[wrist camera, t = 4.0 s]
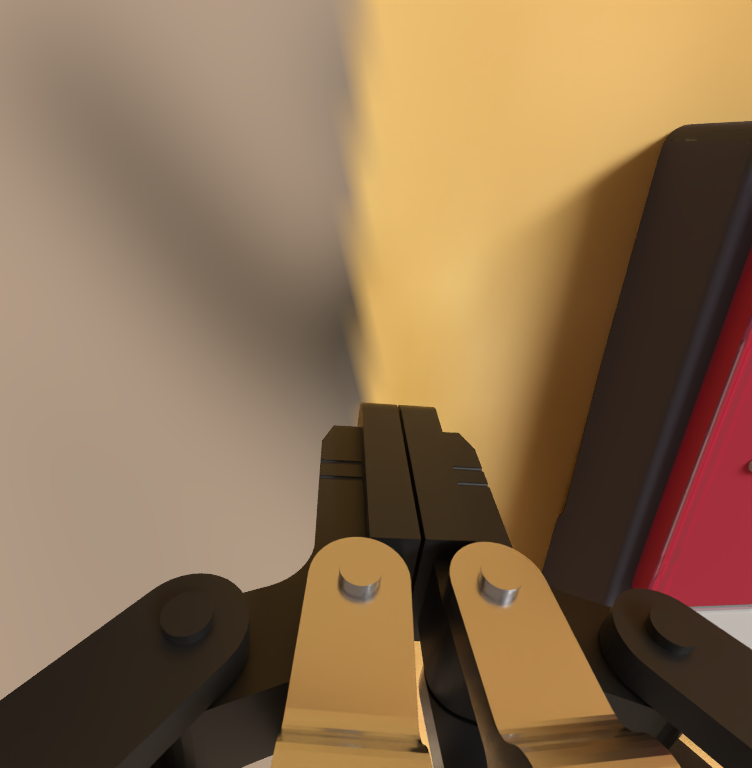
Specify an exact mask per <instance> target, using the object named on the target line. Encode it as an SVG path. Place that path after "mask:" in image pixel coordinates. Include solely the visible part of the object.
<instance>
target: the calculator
mask: <svg viewBox="0 0 752 768" xmlns="http://www.w3.org/2000/svg"><path fill="white" fill-rule="evenodd" d="M542 574H543V576H544V577H545V579H546V581H547V583H548V585H549V586H551V587H553V588H555V589H557V590H559V591H562V592H564V593H567V594H570V595H573V596H576V597H580V598H583V599H586V600H589V601H592V602H596V603H599V604H602V605H605V606H609V607H612V605H613V603H614V601H615V600H616V598H617V596H619V595H620V594H621V593H622V592H624V591H626V590H630V589H634V588H643V589H651V590H654V591H658V592H661V593H664V594H666V595H669V596H671V597H673V598H675V599H677V600H679V601H680V602H682V603H684V604H685V605H687V606H688V607H690V608H691V609H693V610H694V611H696V612H697V613H699V614H700V615H702V616H703V617H705V618H706V619H708V620H709V621H711V622H712V623H714V624H715V625H716V626H718V627H719V628H721V629H722V630H724V631H725V632H727V633H728V634H730V635H731V636H733V637H734V638H736V639H737V640H739V641H740V642H741V643H743V644H744V645H746V646H747V647H749V648H750V649H752V121H744V122H726V123H707V124H691V125H684V126H682V127H679V128H677V129H676V130H675V131H673V132H672V133H671V134H670V135H669V136H668V138H667V139H666V141H665V142H664V144H663V146H662V149H661V152H660V155H659V158H658V162H657V165H656V169H655V172H654V176H653V179H652V183H651V186H650V190H649V194H648V197H647V201H646V204H645V208H644V211H643V215H642V219H641V222H640V226H639V229H638V233H637V236H636V240H635V244H634V247H633V251H632V254H631V258H630V261H629V265H628V268H627V272H626V276H625V279H624V283H623V286H622V290H621V294H620V297H619V301H618V304H617V308H616V311H615V315H614V319H613V322H612V326H611V329H610V333H609V337H608V340H607V344H606V348H605V351H604V355H603V358H602V362H601V366H600V370H599V374H598V378H597V382H596V386H595V390H594V394H593V398H592V402H591V406H590V410H589V414H588V418H587V422H586V426H585V430H584V434H583V439H582V443H581V447H580V451H579V455H578V459H577V463H576V467H575V471H574V475H573V479H572V483H571V487H570V491H569V495H568V499H567V503H566V507H565V511H564V512H563V513H562V514H561V515H560V516H559V517H558V519H557V522H556V525H555V528H554V532H553V535H552V539H551V542H550V546H549V549H548V553H547V557H546V560H545V564H544V567H543V571H542Z"/></svg>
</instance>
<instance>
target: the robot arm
mask: <svg viewBox="0 0 752 768" xmlns="http://www.w3.org/2000/svg"><path fill="white" fill-rule="evenodd" d="M487 485H488V483H487V480H486V477H485V475H484V472H482V467H481V464H480V462H479V459H478V457H477V454H476V451H475V449H474V448H473V447H472V446H471V445H470V444H469V443H468V442H467V441H466V440H465V439H464V438H463V437H462V436H461V435H460V434H459V433H448V432H442V428H441V425H440V422H439V419H438V415H437V412H436V409H435V408H434V407H421V406H407V405H398V407H397V405H390V404H375V403H361V404H360V410H359V418H358V426H357V427H350V426H333V427H332V429H331V430H330V431H329V433H328V434H327V435H326V436H325V438H324V439H323V440H322V451H321V463H320V477H319V490H318V504H317V519H316V533H315V546H314V549H313V553H312V555H311V556H310V558H309V560H308V561H307V563H306V564H305V565H304V566H303V567H302V568H301V569H300V570H299V571H298V572H297V573H295V574H294V575H292V576H291V577H289V578H288V579H286V580H284V581H282V582H280V583H277V584H274V585H271V586H268V587H263V588H260V589H256V590H252V591H248V592H245V593H242V591H241V590H240V589H239V588H238V587H237V586H236V585H235V584H234V583H232V582H231V581H229V580H228V579H225V578H223V577H220V576H217V575H212V574H202V573H201V574H190V575H185V576H180V577H178V578H174V579H172V580H169V581H167V582H165V583H163V584H161V585H160V586H158V587H156V588H155V589H153V590H152V591H151V592H149V593H148V594H146V595H145V596H144V597H142V598H141V599H140V600H138V601H137V602H135V603H134V604H132V605H131V606H130V607H128V608H127V609H126V610H124V611H123V612H121V613H120V614H119V615H117V616H116V617H115V618H113V619H112V620H110V621H109V622H108V623H106V624H105V625H104V626H102V627H101V628H100V629H98V630H97V631H95V632H94V633H93V634H91V635H90V636H88V637H87V638H86V639H84V640H83V641H82V642H80V643H79V644H77V645H76V646H75V647H73V648H72V649H70V650H69V651H68V652H66V653H65V654H64V655H62V656H61V657H60V658H58V659H57V660H55V661H54V662H53V663H51V664H50V665H48V666H47V667H46V668H44V669H43V670H42V671H40V672H39V673H37V674H36V675H35V676H33V677H32V678H31V679H29V680H28V681H27V682H25V683H24V684H22V685H21V686H20V687H18V688H17V689H15V690H14V691H13V692H11V693H10V694H8V695H7V696H6V697H4V698H3V699H2V700H0V768H242V767H244V766H246V765H248V764H251V763H253V762H256V761H259V760H261V759H264V758H266V757H268V756H271V755H273V759H272V764H271V768H432V765H431V759H430V755H429V752H428V749H427V747H426V745H424V744H422V742H421V738H420V733H419V724H418V707H417V688H416V669H415V650H414V641H420V643H421V650H422V657H423V666H422V670H421V674H420V678H419V696H420V701H421V706H422V711H423V716H424V721H425V726H426V731H427V736H428V741H429V746H430V751H431V756H432V761H433V766H434V768H712V767H711V766H710V765H709V764H708V763H706V762H705V761H704V760H703V759H702V758H701V757H699V756H698V755H697V754H696V753H695V752H693V751H692V750H691V749H690V748H689V747H688V746H686V745H685V744H684V743H683V742H682V741H681V740H679V739H678V738H679V737H680V736H681V735H682V734H684V735H685V736H686V737H688V738H689V739H690V740H691V741H692V742H694V743H695V744H696V745H697V746H698V747H700V748H701V749H702V750H703V751H704V752H706V753H707V754H708V755H709V756H710V757H711V758H713V759H714V760H715V761H716V762H717V763H719V764H720V765H721V766H722V767H723V768H752V649H750V648H749V647H747V646H746V645H744V644H743V643H741V642H740V641H739V640H737V639H736V638H734V637H733V636H731V635H730V634H728V633H727V632H725V631H724V630H722V629H721V628H719V627H718V626H716V625H715V624H714V623H712V622H711V621H709V620H708V619H706V618H705V617H703V616H702V615H700V614H699V613H697V612H696V611H694V610H693V609H691V608H690V607H688V606H687V605H685V604H684V603H682V602H680V601H679V600H677V599H675V598H673V597H671V596H669V595H666V594H664V593H661V592H658V591H654V590H651V589H643V588H634V589H630V590H626V591H624V592H622V593H621V594H620V595H619V596H617V598H616V600H615V601H614V603H613V605H612V607H609V606H605V605H602V604H599V603H596V602H592V601H589V600H586V599H583V598H580V597H576V596H573V595H570V594H567V593H564V592H562V591H559V590H557V589H555V588H553V587H551V586H549V585H548V583H547V581H546V579H545V577H544V576H543V574H542V573H541V571H540V570H539V569H538V567H537V566H536V565H535V564H534V563H533V562H532V561H531V560H530V559H528V558H527V557H526V556H524V555H523V554H521V553H520V552H518V551H516V550H515V549H513V548H512V545H511V543H510V540H509V538H508V535H507V532H506V530H505V527H504V525H503V522H502V519H501V517H500V514H499V511H498V509H497V506H496V504H495V501H494V498H493V496H492V493H491V491H490V488H489V487H488V486H487Z"/></svg>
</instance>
